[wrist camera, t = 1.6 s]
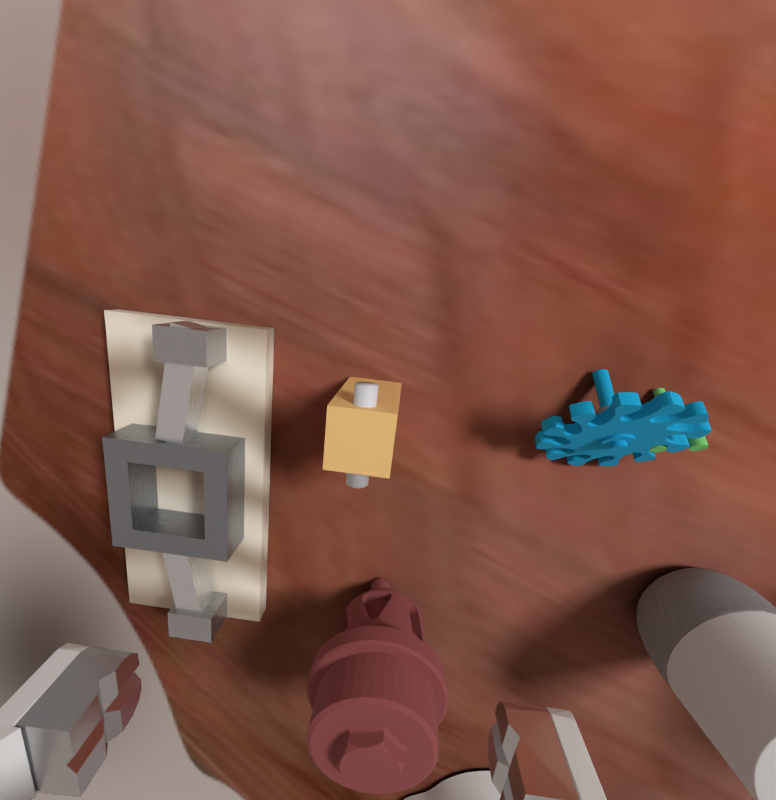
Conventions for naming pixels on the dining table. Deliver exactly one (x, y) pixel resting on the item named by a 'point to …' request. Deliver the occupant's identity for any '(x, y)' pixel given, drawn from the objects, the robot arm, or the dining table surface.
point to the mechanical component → (377, 696)
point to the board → (221, 414)
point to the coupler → (362, 429)
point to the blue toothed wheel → (624, 427)
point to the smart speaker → (718, 664)
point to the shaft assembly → (189, 450)
